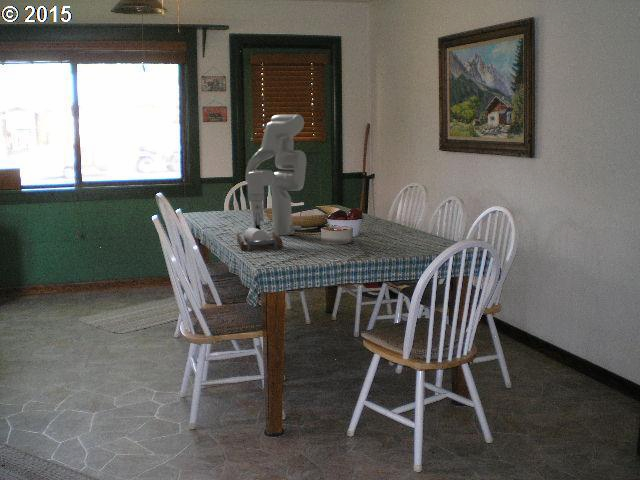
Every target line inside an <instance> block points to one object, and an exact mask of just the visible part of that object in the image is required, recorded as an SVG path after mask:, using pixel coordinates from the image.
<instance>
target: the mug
mask: <svg viewBox="0 0 640 480" xmlns="http://www.w3.org/2000/svg"><path fill="white" fill-rule="evenodd" d="M271 239H273V236H272V235H271V234H270V233H267V232H266V231H264V230H262V229H261V230H260V229H256V228H254V227H249V228H247V229H246V230H245V232H244V233H243V241H244V243H246V244H247V241H262V240H271Z"/></svg>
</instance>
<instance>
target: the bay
mask: <svg viewBox="0 0 640 480" xmlns="http://www.w3.org/2000/svg"><path fill="white" fill-rule="evenodd" d="M271 231H272V236H273V238H272V239H268V240H262V241H247V243H246V244H245V240H244V238H243V237H242V235H241V234H240V232H236V242H237V244H238V246H239V249H240V251H247V252H251V251H259V250H260V251H261V250H275V251H277V250H281V249H283V239H282V238H281V237H280V235H278V234H277V233H276V232H275V231H273V230H271Z"/></svg>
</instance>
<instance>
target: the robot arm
mask: <svg viewBox="0 0 640 480" xmlns="http://www.w3.org/2000/svg"><path fill="white" fill-rule="evenodd" d="M304 120H305V119H304V117H303V116H302V115H301V114H298V113H296V114H295V113H291V114H290V113H289V114H283V113H282V114H275V115H273V116H272V117H271V118H270V121H268V122H267V123H266V125H265V128H264V131H263V132H264V133H263V136H262V141H261V145H260V148H259V149H258V150H257V152H255V153H254V154H253V155H252V157H251V158H250V159H249V161H248V163H247V166H246V171H245V176H244V177H245V181H246V183H247V201H248V202H250V213H251V220H252V222H253V228H256V229H260V230H262V228H261V223H263V222H264V219H265V218H264V208H263V207H264V206H263V202H264V201H265V187H266V186H270V191H271V204H272V205H271V207H272V230H271V231H269V234H271V235H272V231H275V232H276V233H277V234H278V236H290V234H292V235H294V234H293V233H295V234H296V230H297V231H299V230H302V226H301V225H293V224H292V220H293V219H292V198H291V196H290V194H289V192H291V191H293V192H295V191H297V192H298V191H301V190H302V189H303V188H304V185H305V180H306V169H307V156H306V153H305V152H304V151H302V150H300V149H299V150H294V146H295V145H294V144H295V143H294V142H295V141H294V139H293V138H294V137H295V136H296V135H298V134H299V133H300V132H301V131H302V130H303V128H304V125H305V121H304ZM273 157H275V158H274V159H275V160H274V164H275V167H276V168H277V169H280V170H283V171H272V169H271V170H270V169H257V168H258V167H259V166H260V164H262V163H263V162H264V161H266V160H269V159H271V158H273ZM285 170H293V171H285ZM288 191H289V192H288Z"/></svg>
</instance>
